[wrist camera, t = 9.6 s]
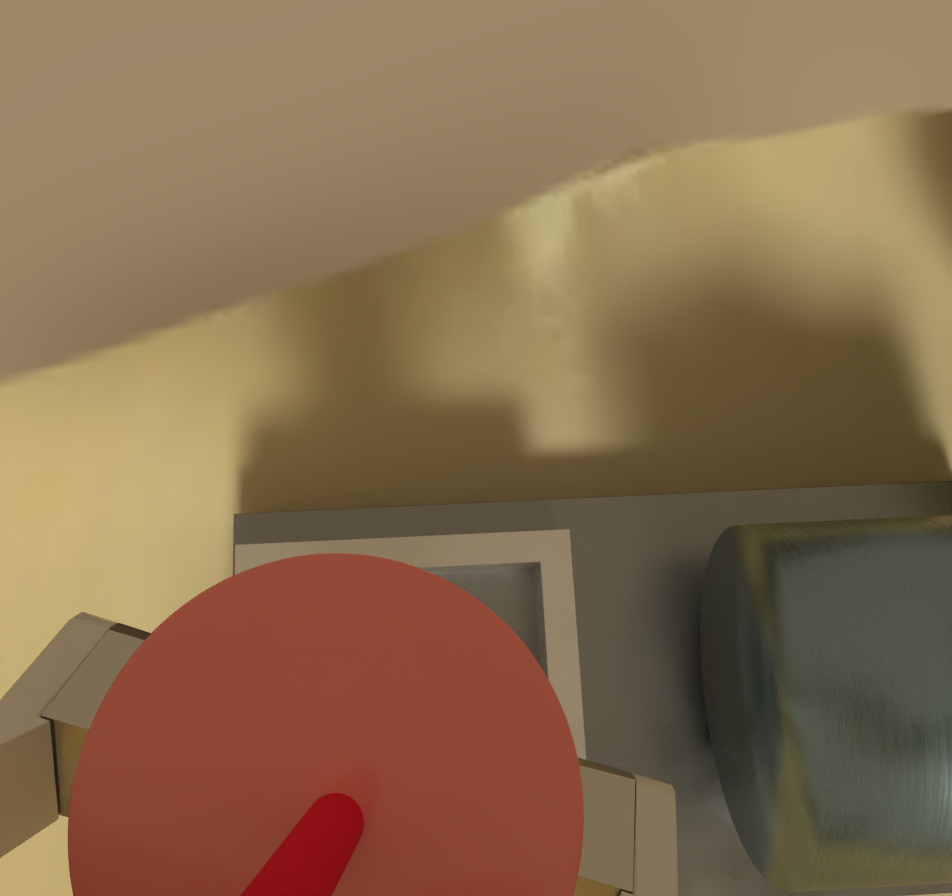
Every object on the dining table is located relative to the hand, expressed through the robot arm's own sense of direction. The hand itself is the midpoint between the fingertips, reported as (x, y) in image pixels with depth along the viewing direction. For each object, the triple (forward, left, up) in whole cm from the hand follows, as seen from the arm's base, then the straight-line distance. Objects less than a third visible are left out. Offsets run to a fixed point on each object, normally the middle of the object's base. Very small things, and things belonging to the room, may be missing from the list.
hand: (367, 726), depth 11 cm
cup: (0, +1, -7) cm, 7 cm away
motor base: (-6, +1, -14) cm, 15 cm away
